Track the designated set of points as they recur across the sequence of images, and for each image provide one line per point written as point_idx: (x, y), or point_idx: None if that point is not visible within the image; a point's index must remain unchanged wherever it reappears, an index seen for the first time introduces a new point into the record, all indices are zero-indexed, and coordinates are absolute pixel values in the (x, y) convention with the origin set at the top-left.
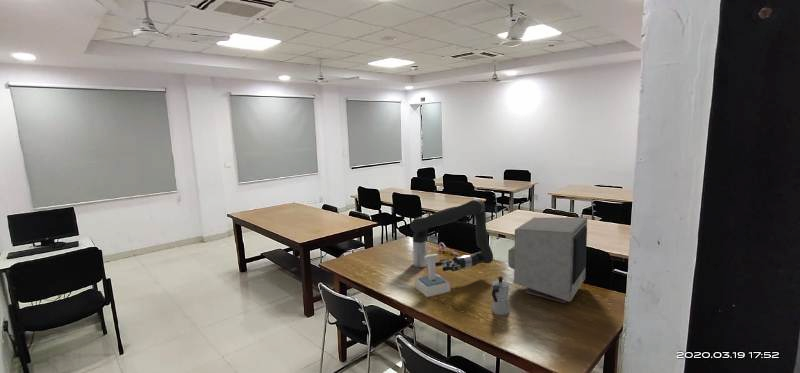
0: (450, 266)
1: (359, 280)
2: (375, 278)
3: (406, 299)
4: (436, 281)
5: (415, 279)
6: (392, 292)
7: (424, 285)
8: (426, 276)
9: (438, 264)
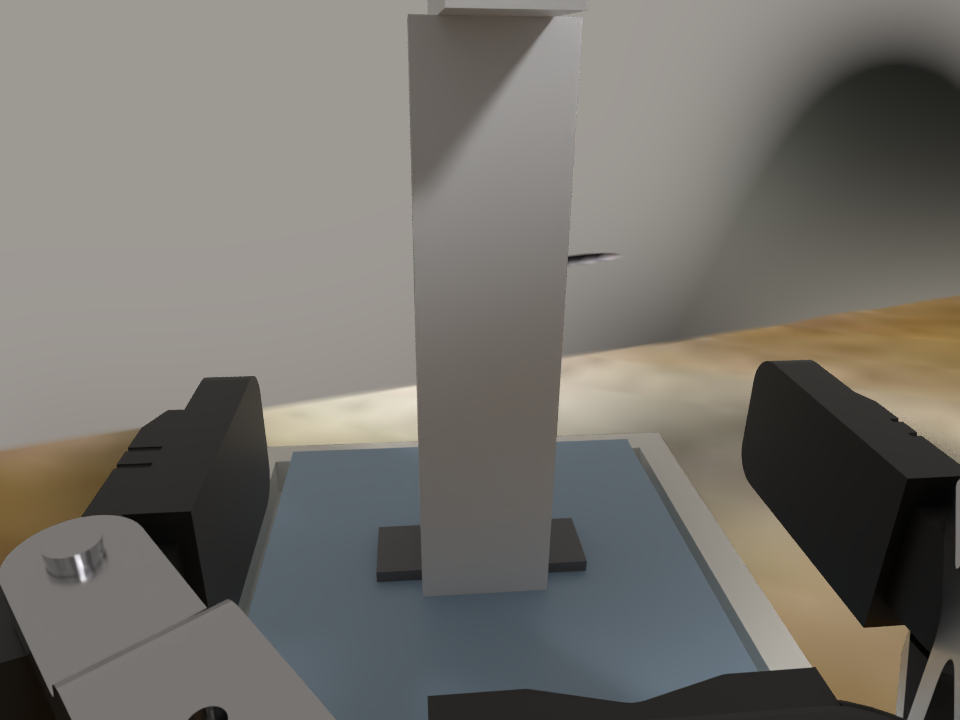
0: (6, 560)
1: (880, 312)
2: (945, 366)
3: (356, 421)
4: (323, 580)
5: (647, 438)
6: (569, 387)
7: (350, 447)
8: (670, 526)
9: (806, 480)
